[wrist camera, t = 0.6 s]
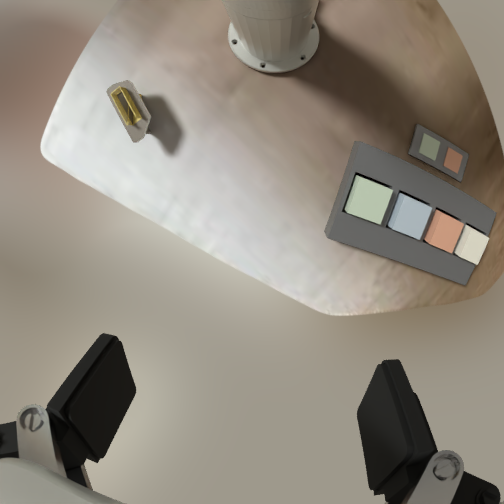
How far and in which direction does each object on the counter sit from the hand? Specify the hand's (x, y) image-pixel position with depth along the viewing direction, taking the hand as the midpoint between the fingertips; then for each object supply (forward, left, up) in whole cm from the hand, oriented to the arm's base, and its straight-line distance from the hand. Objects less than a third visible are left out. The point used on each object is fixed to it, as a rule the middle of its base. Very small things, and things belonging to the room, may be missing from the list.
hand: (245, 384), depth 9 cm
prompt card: (-15, +23, -33) cm, 43 cm away
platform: (-8, -22, -34) cm, 41 cm away
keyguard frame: (-4, +23, -33) cm, 41 cm away
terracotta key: (-4, +26, -31) cm, 41 cm away
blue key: (-4, +19, -32) cm, 37 cm away
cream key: (-4, +33, -31) cm, 46 cm away
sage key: (-4, +12, -32) cm, 34 cm away
